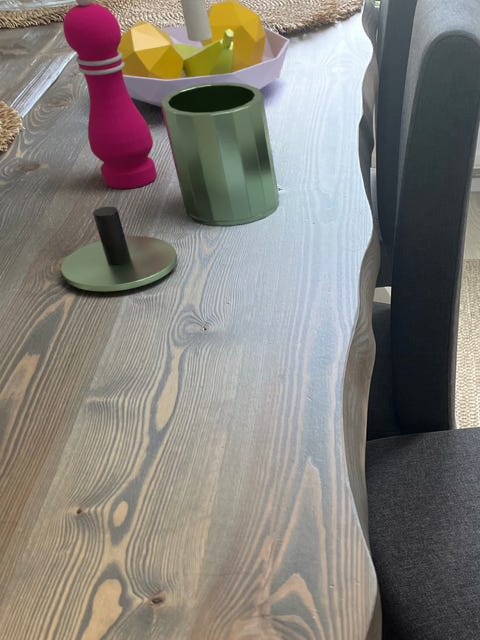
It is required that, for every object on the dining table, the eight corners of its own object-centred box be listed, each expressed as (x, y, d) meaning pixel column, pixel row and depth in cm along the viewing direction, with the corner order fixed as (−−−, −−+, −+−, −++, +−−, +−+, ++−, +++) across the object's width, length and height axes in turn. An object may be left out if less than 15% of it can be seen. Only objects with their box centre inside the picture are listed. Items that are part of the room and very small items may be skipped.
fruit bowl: (104, 78, 151) (81, -10, 143) (284, 59, 155) (272, -27, 147) (106, 142, 132) (79, 45, 123) (311, 118, 136) (299, 23, 128)
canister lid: (50, 298, 101) (28, 237, 96) (82, 248, 109) (64, 189, 104) (165, 296, 100) (149, 234, 96) (188, 245, 109) (175, 187, 104)
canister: (177, 226, 112) (151, 116, 104) (196, 189, 120) (172, 83, 111) (272, 224, 112) (253, 113, 104) (284, 187, 119) (268, 81, 111)
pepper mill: (130, 195, 119) (78, -1, 105) (87, 183, 122) (31, -9, 107) (173, 174, 123) (129, -17, 109) (131, 164, 126) (82, -24, 112)
